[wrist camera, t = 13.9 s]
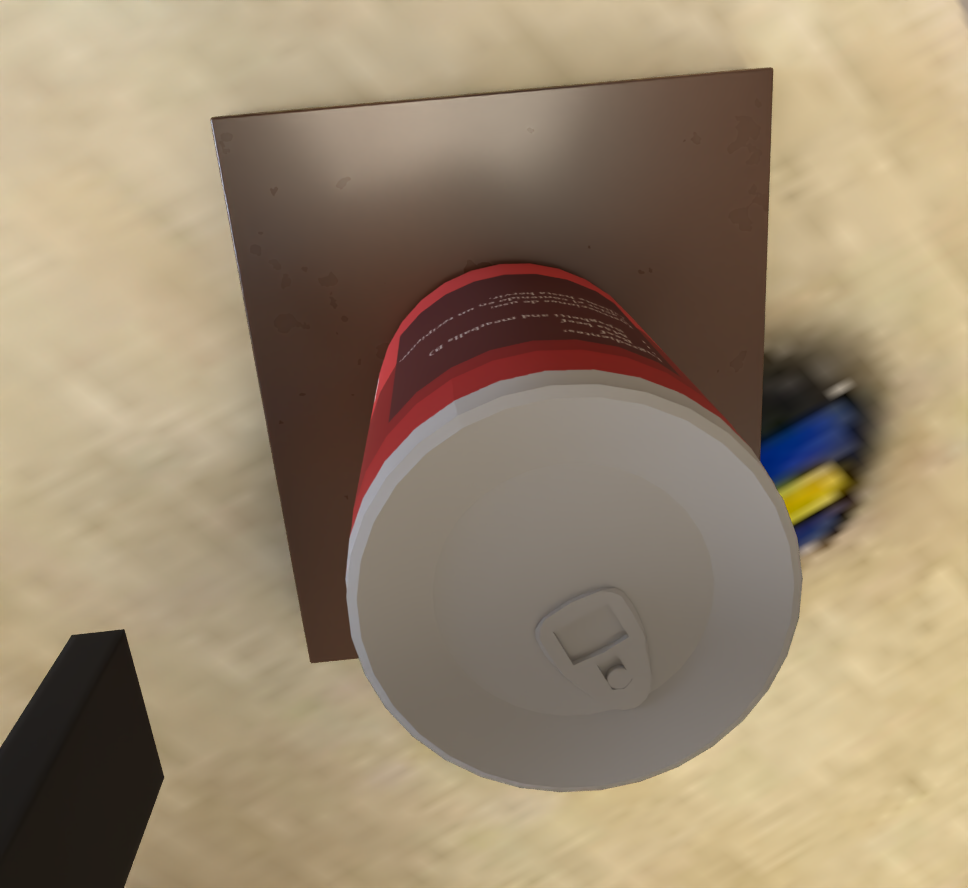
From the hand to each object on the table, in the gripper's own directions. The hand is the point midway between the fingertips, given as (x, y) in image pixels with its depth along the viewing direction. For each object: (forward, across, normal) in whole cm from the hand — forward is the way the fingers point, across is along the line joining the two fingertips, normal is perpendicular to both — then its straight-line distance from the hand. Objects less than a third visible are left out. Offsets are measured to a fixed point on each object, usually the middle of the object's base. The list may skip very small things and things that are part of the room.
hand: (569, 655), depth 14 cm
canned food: (+12, 0, 0) cm, 12 cm away
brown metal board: (+14, 0, 0) cm, 14 cm away
